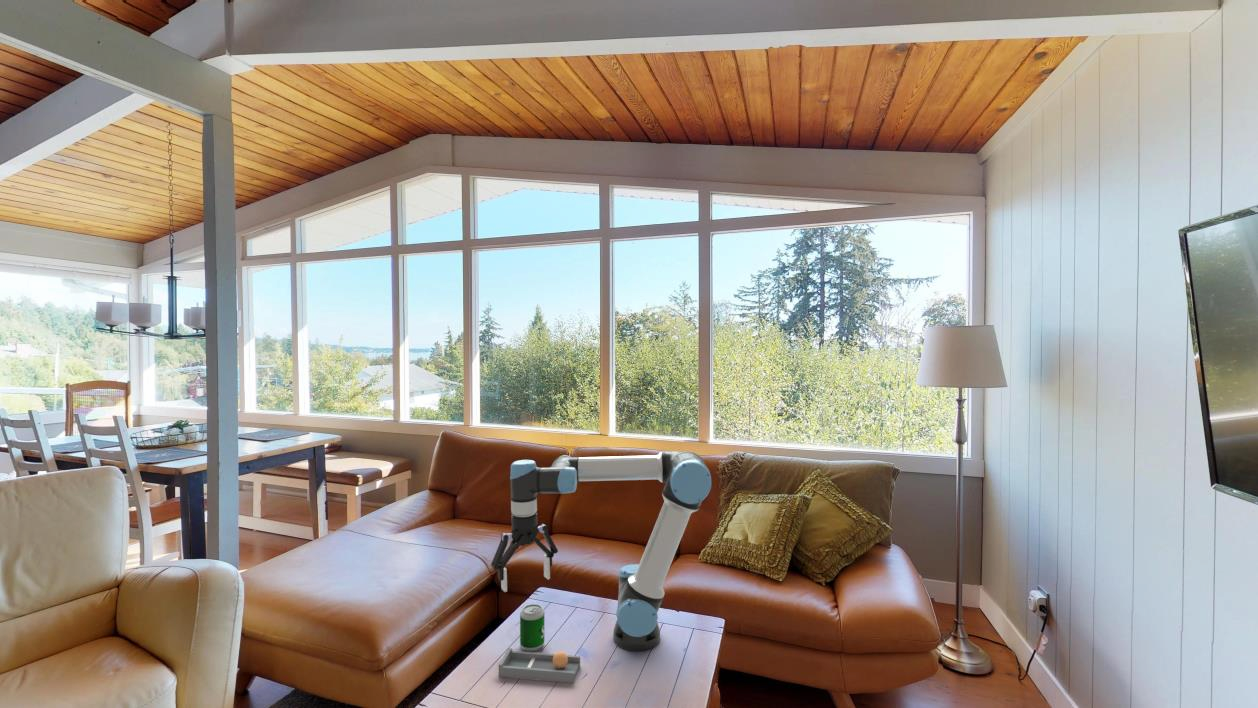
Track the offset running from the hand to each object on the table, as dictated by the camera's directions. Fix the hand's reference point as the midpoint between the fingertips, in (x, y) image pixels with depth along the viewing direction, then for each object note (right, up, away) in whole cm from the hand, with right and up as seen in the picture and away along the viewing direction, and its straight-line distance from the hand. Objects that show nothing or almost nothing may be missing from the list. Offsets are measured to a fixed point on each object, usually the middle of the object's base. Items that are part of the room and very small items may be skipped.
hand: (526, 583), depth 161 cm
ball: (+11, -20, -5) cm, 23 cm away
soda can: (0, -24, +9) cm, 25 cm away
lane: (+5, -24, -4) cm, 25 cm away
